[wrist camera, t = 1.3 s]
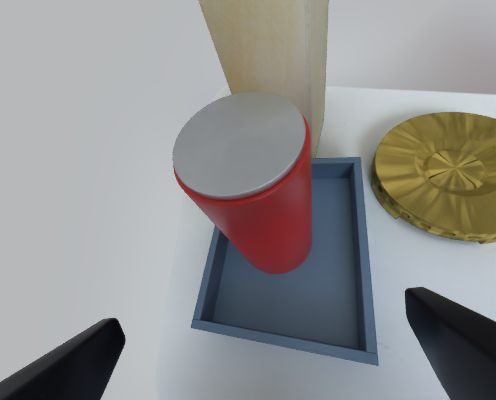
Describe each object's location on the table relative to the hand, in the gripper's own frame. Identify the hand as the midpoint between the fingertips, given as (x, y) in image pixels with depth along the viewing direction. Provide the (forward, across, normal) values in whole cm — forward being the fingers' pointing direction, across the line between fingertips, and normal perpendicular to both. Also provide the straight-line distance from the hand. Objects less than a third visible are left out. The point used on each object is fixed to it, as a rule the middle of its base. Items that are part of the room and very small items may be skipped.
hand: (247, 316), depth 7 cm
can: (+14, 0, +4) cm, 14 cm away
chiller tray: (+14, -1, +5) cm, 14 cm away
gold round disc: (+17, -16, +2) cm, 23 cm away
